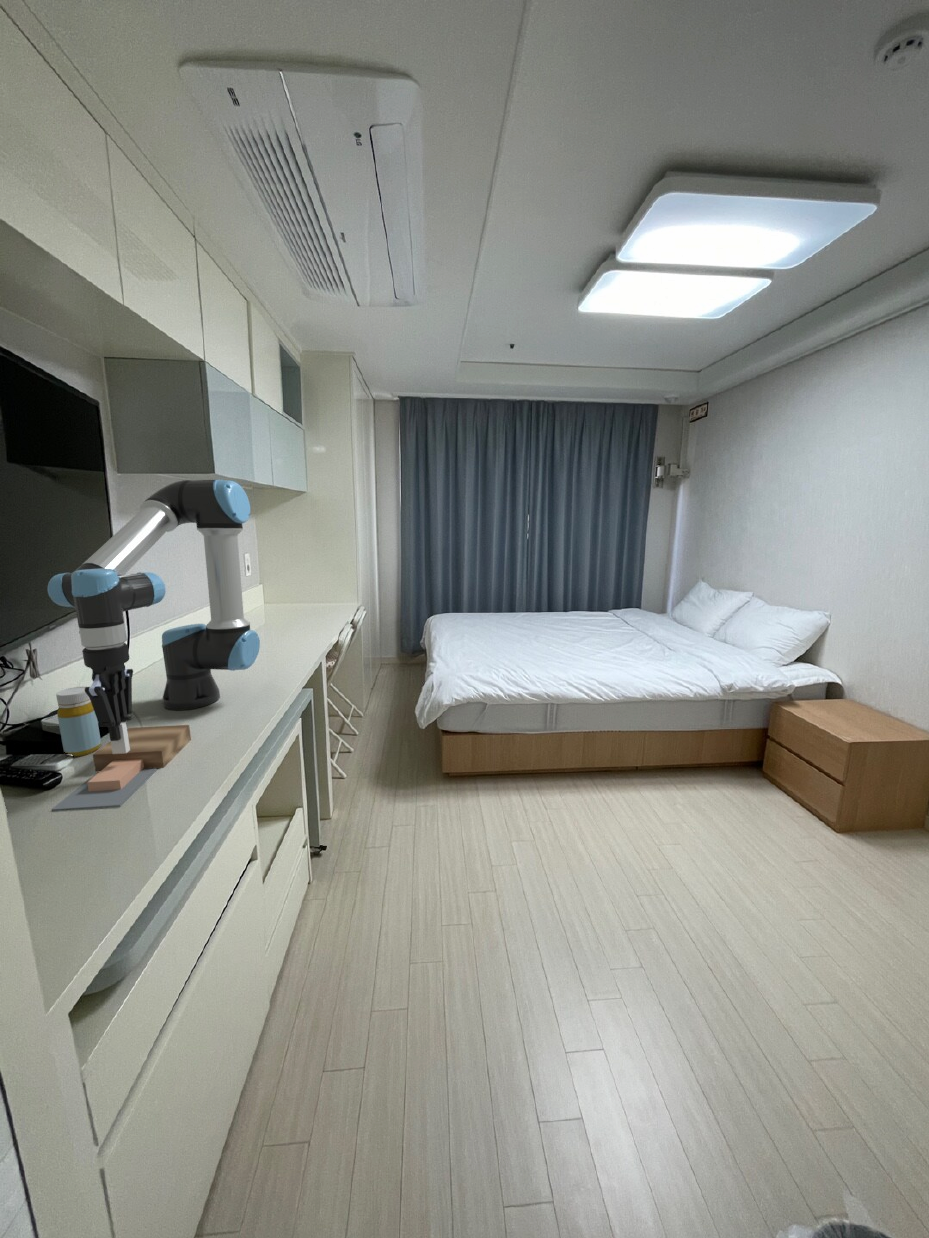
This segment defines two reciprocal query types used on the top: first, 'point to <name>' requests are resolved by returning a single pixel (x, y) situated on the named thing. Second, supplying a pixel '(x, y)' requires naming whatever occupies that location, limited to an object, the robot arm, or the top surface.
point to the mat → (103, 794)
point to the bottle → (77, 722)
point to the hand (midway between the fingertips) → (121, 751)
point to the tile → (115, 775)
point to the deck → (147, 746)
